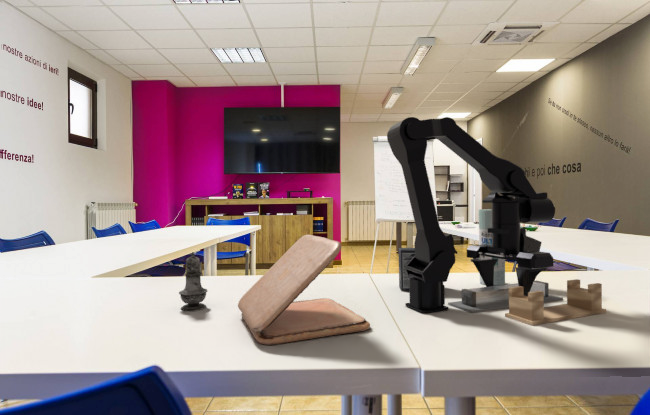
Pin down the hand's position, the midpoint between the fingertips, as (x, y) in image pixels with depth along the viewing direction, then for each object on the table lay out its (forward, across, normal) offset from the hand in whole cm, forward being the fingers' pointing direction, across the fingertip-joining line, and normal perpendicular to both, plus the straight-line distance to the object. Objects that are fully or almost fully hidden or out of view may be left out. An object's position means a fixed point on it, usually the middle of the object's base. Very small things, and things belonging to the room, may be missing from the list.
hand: (506, 294), depth 85 cm
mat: (+2, 0, 0) cm, 2 cm away
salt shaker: (+2, +24, +64) cm, 68 cm away
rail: (+1, 0, 0) cm, 1 cm away
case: (+2, +5, +46) cm, 46 cm away
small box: (+2, +19, +9) cm, 21 cm away
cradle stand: (+2, -11, -1) cm, 11 cm away
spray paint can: (+2, +16, -12) cm, 20 cm away
